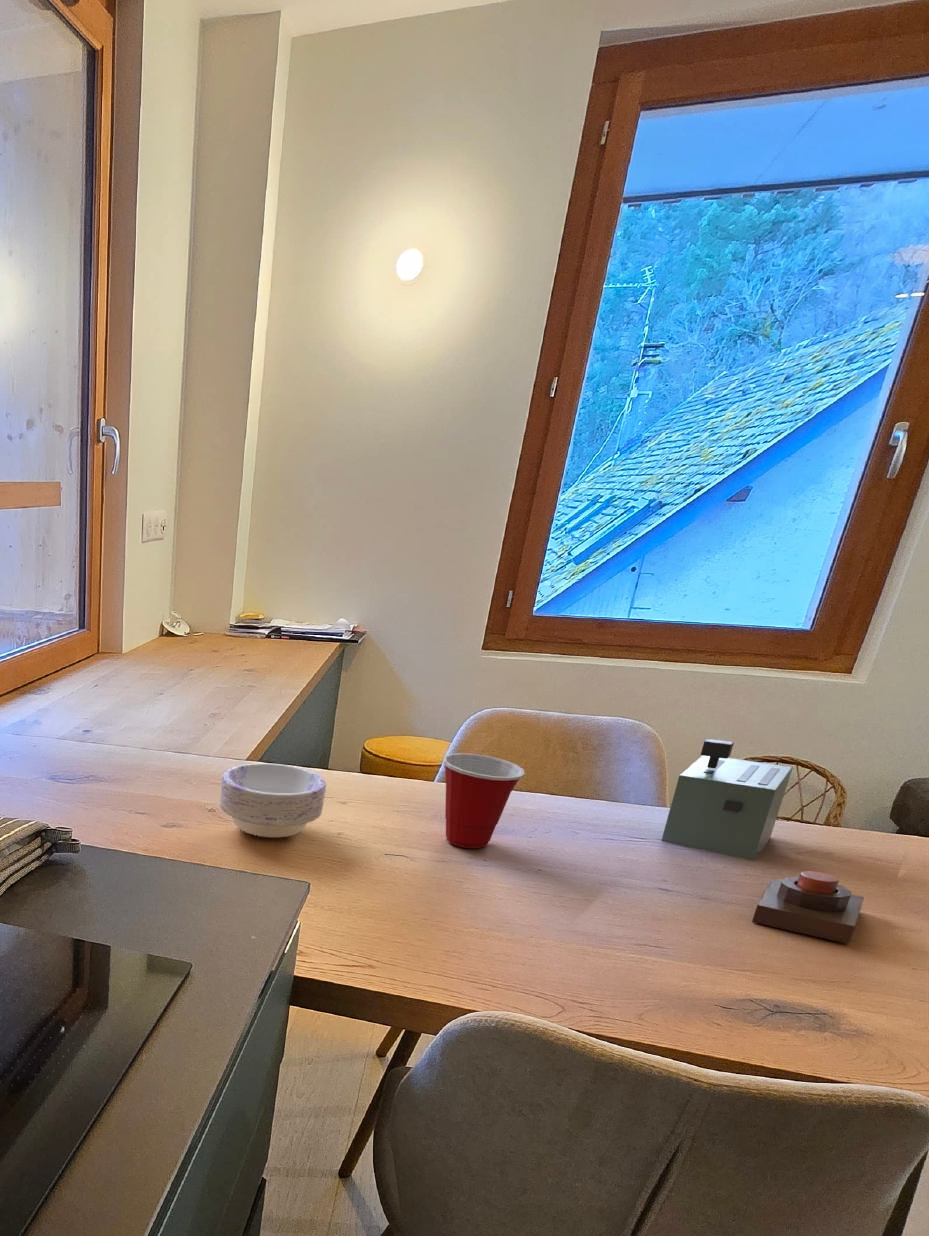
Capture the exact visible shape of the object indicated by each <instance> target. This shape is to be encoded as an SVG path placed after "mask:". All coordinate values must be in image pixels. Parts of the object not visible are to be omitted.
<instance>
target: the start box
mask: <svg viewBox="0 0 929 1236" xmlns="http://www.w3.org/2000/svg"><path fill="white" fill-rule="evenodd" d="M799 877H800V876H789V877H783V878H782V879H778V878H772V879H771V880H770V882H769V884H768V885H767V888H766V889H765V891H764V893H763V895H762V896H761V898H760V899H759V901H758V903H757V905H756V907H755V911H754V914H753V916H752V920H751V922H752V923H756V924H759V925H763V926H769V927H772V928H777V929H781V930H785V931H790V932H794V933H798V934H799V933H800V934H803V935H808V936H812V937H815V938H820V939H825V940H829V941H834V942H836V943H837V942H838V943H842V944H846V945H849V944H850V942H851V939H852V936H853V933H854V931H855V928H856V924H857V922H858V918H859V915H860V913H861V910H862V909H861V908H862V905H863V903H864V899H865V898H864V896H861V895H855V894H852V893H853V892H852V891H851V890H850V889H848V888H846V887H845V886H843V885H840V884H838V885H837V888H836V891H835V893H833V894H830V893H819V892H814V891H809V890H806V889H803V888H800V887H798V886H796V885H797V882H798V880H799Z"/></svg>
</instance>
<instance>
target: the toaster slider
mask: <svg viewBox="0 0 929 1236" xmlns="http://www.w3.org/2000/svg"><path fill="white" fill-rule="evenodd" d="M734 745H735V742H734V741H727V740H720V739H713V738H706V739H705V740H704V741H703V745H702V748H701V752H700V756H703V755H704V756H710V759H709V762H708V766H707V767H708V768H716V767H717V764H718V761H719V758H725V759H727V758H730V757H731V755H732V751H733V748H734Z"/></svg>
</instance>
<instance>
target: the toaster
mask: <svg viewBox="0 0 929 1236" xmlns="http://www.w3.org/2000/svg"><path fill="white" fill-rule="evenodd" d="M709 759H710V756H704V755H701V756H700V757H699V758H698V759H696V761H694V762H693V763H692V764H691V765H690V766H689V767H687V768H686V769H685V770H683V772H681V773H680V774H679V775H678V778H677V782H676V786H675V788H674V789H675V790H674V793H673V796H672V801H671V804H670V808H669V812H668V814H667V819H666V822H665V825H664V829H663V833H662V837H661V840H660V841H661V842H664V843H669V844H673V845H677V846H678V845H679V846H684V847H688V848H692V849H697V850H702V851H707V852H711V853H715V854H721V855H724V856H730V857H734V858H738V859H744V860H748V861H754V860H755V859H756V857H757V855H758V854H759V852H762V851H763V850H764V849H765V847H766V846H767V844H768V842H769V841H768V840H770V839H771V837H770V836H772V833H773V831H774V827H775V824H776V821H777V818H778V815H779V812H780V810H781V805H782V802H783V799H784V796H785V793H786V790H787V787H788V783H789V781H790V778H791V774H792V772H793V766H788V765H780V764H774V763H766V762H761V761H751V760H745V759H739V758H738V759H737V758H731V757H728V758H727V759H725V758H719V761H718V764H717V767H716V768H708V767H707V766H708V762H709ZM769 838H770V839H769ZM767 841H768V842H767ZM766 843H767V844H766ZM765 845H766V846H765ZM764 846H765V847H764Z"/></svg>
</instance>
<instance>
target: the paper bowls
mask: <svg viewBox="0 0 929 1236" xmlns="http://www.w3.org/2000/svg"><path fill="white" fill-rule="evenodd" d="M220 780H221V782H220V796H219V806H220V807H219V808H220V809H221V810H222V811H223V813H224V814H226V815H228V816H230V817H231V819H232V821H233V823H234V825H235V826H236V827H237V828H238V829H239V830H240V831H242V832H244V831H245V832H244V833H246V834H250V835H252V834H253V836H256V835H257V836H256V837H261V838H286V837H290V836H294V835H296V834H298V833H300V832H301V831H302V830H304V829H305V828H306V826H307V824H308V823H311V822H314V821H316V820H317V819H319V818H320V817H321V816H322V813H323V807H324V803H325V795H326V789H327V784H326V781H325V779H324V778H323V777H322V776H321V775H320V774H317V773H316V772H314V771H312V770H308V769H305V768H301V767H298V766H294V765H287V764H282V763H281V764H280V763H270V762H269V763H268V762H267V763H266V762H265V763H264V762H263V763H260V762H259V763H258V762H257V763H247V764H241V765H237V766H233V767H230V768H229V769H227V770H226V771H224V773H223V774H222V776H221V779H220Z"/></svg>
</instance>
